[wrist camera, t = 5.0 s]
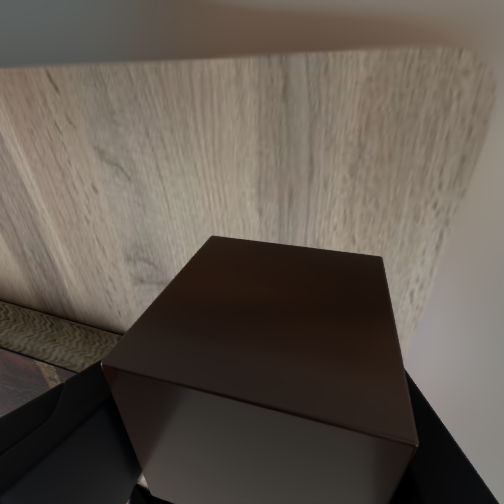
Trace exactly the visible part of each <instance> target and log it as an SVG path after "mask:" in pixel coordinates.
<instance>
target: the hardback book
mask: <svg viewBox="0 0 504 504" xmlns="http://www.w3.org/2000/svg"><path fill="white" fill-rule="evenodd" d="M122 337H123V336H120V335H117V334H113V333H110V332H106V331H103V330H99V329H96V328H92V327H89V326H85V325H82V324H79V323H75V322H72V321H68V320H65V319H61V318H58V317H54V316H51V315H47V314H44V313H40V312H37V311H33V310H30V309H26V308H23V307H19V306H16V305H12V304H9V303H5V302H2V301H0V417H2V416H4V415H6V414H7V413H9V412H11V411H13V410H15V409H17V408H19V407H20V406H22V405H24V404H26V403H27V402H29V401H31V400H33V399H34V398H36V397H38V396H40V395H41V394H43V393H45V392H46V391H48V390H50V389H51V388H53V387H55V386H56V385H58V384H60V383H62V382H65V380H67V379H68V378H70V377H72V376H73V375H75V374H77V373H78V372H80V371H82V370H83V369H85V368H87V367H88V366H90V365H92V364H93V363H95V362H97V361H98V360H100V359H102V358H103V357H105V356H106V355H107V354H108V353H109V352H110V350H111V349H112V348H113V347H114V346H115V345H116V344H117V342H118V341H119V340H120V339H121V338H122ZM143 475H144V474H143V472H142V473H141V475H140V477H139V479H138V481H137V482H139V481H140V480H141V478H142V476H143Z"/></svg>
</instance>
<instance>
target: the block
mask: <svg viewBox="0 0 504 504" xmlns="http://www.w3.org/2000/svg"><path fill="white" fill-rule="evenodd" d="M101 367H102V369H103V372H104V375H105V377H106V380H107V382H108V385H109V387H110V390H111V392H112V395H113V398H114V400H115V403H116V405H117V408H118V410H119V413H120V416H121V418H122V421H123V423H124V426H125V428H126V431H127V433H128V436H129V439H130V441H131V444H132V446H133V449H134V451H135V454H136V457H137V459H138V462H139V464H140V467H141V469H142V472H143V474H144V477H145V480H146V482H147V485H148V487H149V490H150V492H151V494H152V496H155V497H158V498H160V499H163V500H166V501H169V502H171V503H174V504H389V503H390V501H391V499H392V497H393V495H394V493H395V491H396V489H397V487H398V485H399V484H400V482H401V480H402V478H403V476H404V474H405V472H406V470H407V468H408V466H409V464H410V462H411V460H412V458H413V456H414V454H415V452H416V450H417V448H418V446H419V441H418V436H417V431H416V426H415V420H414V415H413V410H412V405H411V400H410V395H409V390H408V385H407V380H406V375H405V370H404V365H403V360H402V354H401V349H400V344H399V339H398V334H397V329H396V324H395V319H394V314H393V309H392V304H391V299H390V294H389V288H388V283H387V278H386V273H385V268H384V263H383V258H382V257H380V256H373V255H365V254H357V253H349V252H341V251H333V250H325V249H317V248H309V247H301V246H293V245H285V244H276V243H268V242H260V241H252V240H244V239H236V238H228V237H220V236H211V237H210V238H209V239H208V240H207V241H206V242H205V243H204V245H203V246H202V247H201V248H200V249H199V250H198V251H197V253H196V254H195V255H194V256H193V257H192V258H191V259H190V260H189V262H188V263H187V264H186V265H185V266H184V267H183V268H182V270H181V271H180V272H179V273H178V274H177V275H176V276H175V278H174V279H173V280H172V281H171V282H170V283H169V284H168V286H167V287H166V288H165V289H164V290H163V291H162V292H161V293H160V295H159V296H158V297H157V298H156V299H155V300H154V301H153V303H152V304H151V305H150V306H149V307H148V308H147V309H146V311H145V312H144V313H143V314H142V315H141V316H140V317H139V319H138V320H137V321H136V322H135V323H134V324H133V325H132V326H131V328H130V329H129V330H128V331H127V332H126V333H125V334H124V336H123V337H122V338H121V339H120V340H119V341H118V342H117V344H116V345H115V346H114V347H113V348H112V349H111V350H110V352H109V353H108V354H107V355H106V356H105V357H104V358H103V359H102V361H101Z"/></svg>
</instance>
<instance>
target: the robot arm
mask: <svg viewBox="0 0 504 504" xmlns="http://www.w3.org/2000/svg"><path fill="white" fill-rule="evenodd" d="M103 358H104V357H103ZM103 358H102V359H103ZM102 359H100V360H98V361H97V362H95V363H93V364H92V365H90V366H88V367H87V368H85V369H83V370H82V371H80V372H78V373H77V374H75V375H73V376H72V377H70V378H68V379H67V380H65V382H62V383H60V384H58V385H56V386H55V387H53V388H51V389H50V390H48V391H46V392H45V393H43V394H41V395H40V396H38V397H36V398H34V399H33V400H31V401H29V402H27V403H26V404H24V405H22V406H20V407H19V408H17V409H15V410H13V411H11V412H9V413H7V414H6V415H4V416H2V417H0V504H126V503H127V501H128V499H129V497H130V495H131V493H132V491H133V489H134V487H135V485H136V483H137V481H138V479H139V477H140V475H141V473H142V469H141V467H140V464H139V462H138V459H137V457H136V454H135V451H134V449H133V446H132V444H131V441H130V439H129V436H128V433H127V431H126V428H125V426H124V423H123V421H122V418H121V416H120V413H119V410H118V408H117V405H116V403H115V400H114V398H113V395H112V392H111V390H110V387H109V385H108V382H107V380H106V377H105V375H104V372H103V369H102V367H101V361H102ZM404 370H405V368H404ZM405 375H406V380H407V385H408V390H409V395H410V400H411V405H412V410H413V415H414V420H415V426H416V431H417V436H418V441H419V446H418V448H417V450H416V452H415V454H414V456H413V458H412V460H411V462H410V464H409V466H408V468H407V470H406V472H405V474H404V476H403V478H402V480H401V482H400V484H399V485H398V487H397V489H396V491H395V493H394V495H393V497H392V499H391V501H390V503H389V504H499V503H498V501H497V500H496V498H495V497H494V495H493V494H492V493H491V491H490V490H489V488H488V487H487V485H486V484H485V483H484V481H483V480H482V478H481V477H480V475H479V474H478V473H477V471H476V470H475V468H474V467H473V465H472V464H471V463H470V461H469V460H468V458H467V457H466V455H465V454H464V453H463V451H462V450H461V448H460V447H459V446H458V444H457V443H456V441H455V440H454V439H453V437H452V436H451V434H450V433H449V431H448V430H447V428H446V427H445V426H444V424H443V423H442V421H441V420H440V418H439V417H438V416H437V414H436V413H435V411H434V410H433V408H432V407H431V406H430V404H429V403H428V401H427V400H426V398H425V397H424V396H423V394H422V393H421V391H420V390H419V388H418V387H417V386H416V384H415V383H414V381H413V380H412V378H411V377H410V376H409V374H408V373H407V371H406V370H405Z"/></svg>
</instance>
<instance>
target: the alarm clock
mask: <svg viewBox="0 0 504 504" xmlns="http://www.w3.org/2000/svg"><path fill="white" fill-rule="evenodd" d="M129 504H147V503H146V501H145V500H144V498H143V497H142V495H141V494H140V492H139V491H138V489H137V488H136V486H135V487H134V489H133V491H132V493H131V495H130V501H129Z"/></svg>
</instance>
